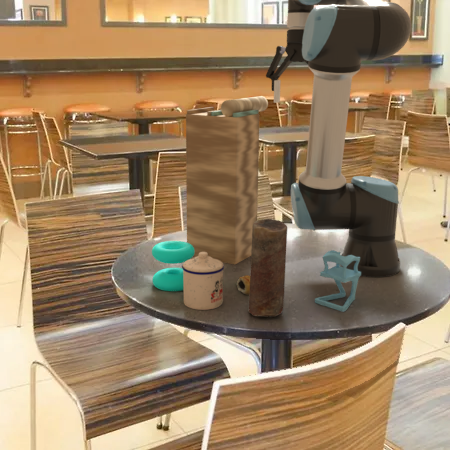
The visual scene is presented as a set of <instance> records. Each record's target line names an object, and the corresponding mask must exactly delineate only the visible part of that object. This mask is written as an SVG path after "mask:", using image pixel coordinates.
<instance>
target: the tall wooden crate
mask: <svg viewBox="0 0 450 450" xmlns="http://www.w3.org/2000/svg"><path fill="white" fill-rule="evenodd" d="M259 112H260V111H259V110H251V111H244V112H238V113H233V116H229V117H227V116H225V115H223V113H222V112H221V109H217V110H216V109H215V107H214V106H209V107H203V108H201V107H200V108H195V109H187V110H186V114H185V139H186V140H185V155H186V156H185V157H186V159H185V162H186V163H185V165H186V167H185V172H186V173H185V174H186V178H185V179H186V180H185V181H186V182H185V183H186V184H185V185H186V242H187V243H189V244H191V245H192V246H193V247H194V250H195V253H194V257H193V258H195V257H197V256H199V253H200V252H207V254H208V256H210V257H212V258H214V259H217V260H220V261H221V262H222V263H223V264H229V265H237V264H239V263H241V262H242V261H244V260H246V259H248V258H249V257H250V258H251V250H252V229H253V224H254V222H255V221H257V220H258V205H259V203H258V196H259V194H258V193H259V157H260V156H259V153H260V147H259V146H260V113H259Z"/></svg>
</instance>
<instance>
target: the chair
mask: <svg viewBox="0 0 450 450" xmlns="http://www.w3.org/2000/svg"><path fill="white" fill-rule="evenodd" d="M322 261H323V265H324V269H323V270H322V271H320V272H319V276H320V277H324V278H329V279H332V280H334V282H335V284H336V286H337V288H338V290H339V292H337V293H332V294H329V295H324V296H318V297H316V298H314V303H315V304H317V305H321V306H323V307H327V308H331V309H334V310H337V311H340V312H346V311H347V310H348V309H349V307H350V306H351V304H352V303H353V302H354V301H355V300H356V291H357V287H358V283H359V279H360V277H362V276H361V272H359V271H358V268H357V267H358V264H359V261H360V257H356V256H353V255H348V256H342V253H341V252H340V251H336V250H332V249H331V250H328V251H326V252H325V253H324V255H322ZM352 261H356V263H355V265H354V270H350V269H347V268H346V267H347V266H348V265H349V264H350V263H351V262H352ZM328 262H330V263H335V265H334V266H332V267H330V268H329V264H328ZM340 265H342V266H343V267H341V266H340ZM348 282H351V287H350V293H349V296H348V298H347V299H346V301H345V303H344V304H343V305H339V304H336V303H333V302H330V301H332V300H337V299H341V298H345V297H346V296H347V294H346V292H347V291H346V290H345V288H344V287H343V284H342V283H344V284H345V283H346V284H347V283H348Z"/></svg>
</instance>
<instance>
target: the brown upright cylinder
mask: <svg viewBox="0 0 450 450" xmlns="http://www.w3.org/2000/svg"><path fill="white" fill-rule="evenodd" d="M287 240H288V226H287V224H286V223H284V222H283V221H282V220H279V219H271V218H263V219H257V221H255V222H254V224H253V229H252V250H251V256H250V274H249V276H250V291H249V295H248V313H250V314H251V315H252V316H254V317H266V318H274V317H275V318H276V317H277V316H279V315H280V314H282V313H283V311H284V304H285V303H284V302H285V301H284V300H285V284H286V283H285V282H286V263H287V262H286V260H287V257H286V256H287Z"/></svg>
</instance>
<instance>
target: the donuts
mask: <svg viewBox="0 0 450 450" xmlns="http://www.w3.org/2000/svg"><path fill="white" fill-rule="evenodd" d="M194 253H195V250H194V247H193V246H192V245H191V244H189V243H187V241H180V240H166V241H161V242H158V243H156V244H155V245H154V246H153V247H152V249H151V254H152V257H153V258H154V259H155V260H156V261H158V262H160V263H163V264H169V265H172V264H173V265H175V264H176V265H177V264H184V262H185V261H187V260H189V259H193V258H194V257H193V256H194ZM152 284H153V286H154V287H155V288H157V289H159V290H161V291H165V292H182V291H184V281H183V269H182V267H167V268H166V267H165V268H163V269H159V270H158V271H157V272H155V273H154V274H153V276H152Z"/></svg>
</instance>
